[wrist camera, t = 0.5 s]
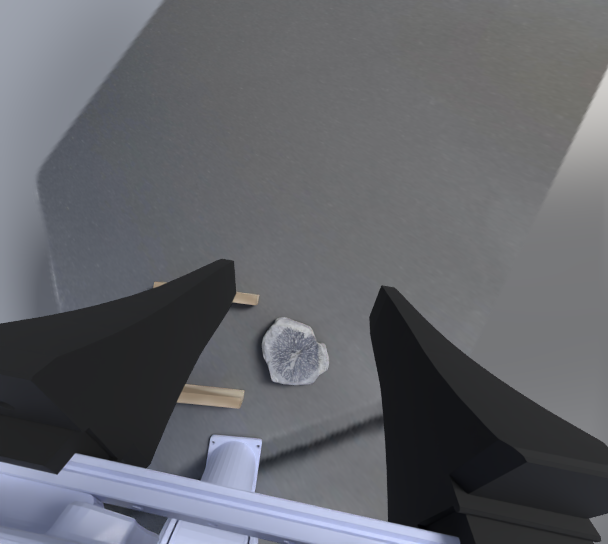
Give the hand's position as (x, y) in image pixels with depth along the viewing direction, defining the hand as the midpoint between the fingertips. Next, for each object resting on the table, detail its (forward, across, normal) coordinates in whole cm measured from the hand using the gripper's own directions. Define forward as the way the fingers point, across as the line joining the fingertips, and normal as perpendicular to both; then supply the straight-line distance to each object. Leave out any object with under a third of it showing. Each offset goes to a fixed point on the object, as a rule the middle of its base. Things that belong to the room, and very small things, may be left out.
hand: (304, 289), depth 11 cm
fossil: (+15, +1, +24) cm, 29 cm away
